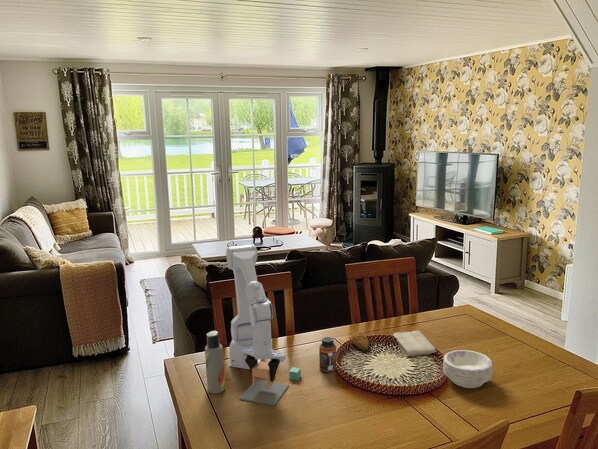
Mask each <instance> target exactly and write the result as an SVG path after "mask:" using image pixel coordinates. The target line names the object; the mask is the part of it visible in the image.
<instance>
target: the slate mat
mask: <svg viewBox="0 0 598 449" xmlns="http://www.w3.org/2000/svg"><path fill="white" fill-rule="evenodd" d="M288 388H290V387H289V384H286V383H279V382H274V383H273V384H272V386H271V387H270V388H269V389H267V380H263V379H261V380H260V381H259V382H258V383H257V384H256V385H255V386H253V382H252V383H251V384H250V385H249V386H248V388H247V389H246V390H245V391H244V392H243V393H242V394H241V396H239V400H241V401H245V402H252V403H257V404H262V405H267V406H272V407H275V406H276V405H277V403H278V402H279V400H280V399H281V398H282V397H283V395H284V394H285V392H286V391H287V390H288Z"/></svg>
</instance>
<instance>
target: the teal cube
mask: <svg viewBox="0 0 598 449" xmlns="http://www.w3.org/2000/svg"><path fill="white" fill-rule="evenodd" d="M301 371H302V370H301V368H300V367H291V368H290V370H289V371H288V376H289V377H288V378H289V380H292V381H299V380H300V378H301V375H302V374H301V373H302V372H301Z"/></svg>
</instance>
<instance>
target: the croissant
mask: <svg viewBox="0 0 598 449" xmlns="http://www.w3.org/2000/svg"><path fill="white" fill-rule="evenodd" d="M350 341H351V342H352V344H353V346H355V347H357V348H358V349H359V350H361V351H362V352H368V350H369V347H370V343H369V338H368V337H367V335H365V334H364V333H361V332H354V333H352V335H351V336H350Z"/></svg>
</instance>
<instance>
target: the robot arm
mask: <svg viewBox="0 0 598 449" xmlns="http://www.w3.org/2000/svg"><path fill="white" fill-rule="evenodd" d="M225 255H226V264H227V268H228V269H229V270H232V271H233V275H234V287H235V296H236V298H235V299H236V308H237V315H236V316H235V317H234V318H232V320H231V322H230V334H231V342H230V344H229V348H228V349H229V351H228V352H229V365H228V366H229V367H232V368H240V369H244V370H245V369H246V370H250V372H251V374H252V368H253V367H254V366H255V365H256V364H257V363H258V362H259V361H262V359H263V360H265V359H268V360H269V362H268V366H269V370H270V380H271V382H273V381H274V379H276V374H277V370H278V368H279V365H280V363H284V362H285V361H286V353H285V352H284V353H282V352H279V351H277V350H275V349H273V346H272V323H271V320H273V318H274V310H273V309H274V308H273V304H272V302H271V301H270V300H269V298H268V297H267V296H266V293H265V289H264V287H263V283H261V282H259V281H258V276H257V271H256V267H255V265H256V263H257V259H258V249H257V246H256V245H255V244H254V243H251V244H245V245H237V246H228V247H227V248H226V254H225Z"/></svg>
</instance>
